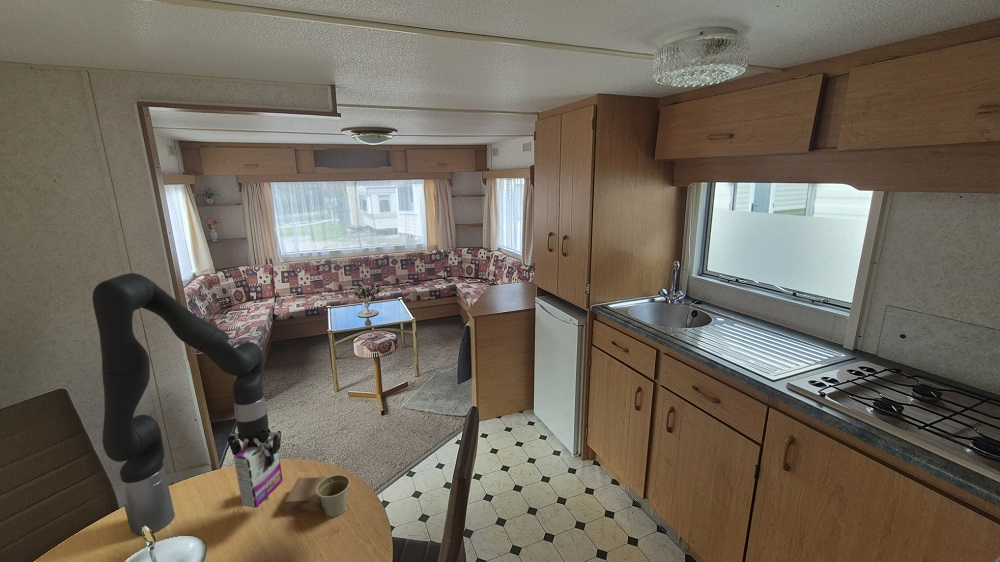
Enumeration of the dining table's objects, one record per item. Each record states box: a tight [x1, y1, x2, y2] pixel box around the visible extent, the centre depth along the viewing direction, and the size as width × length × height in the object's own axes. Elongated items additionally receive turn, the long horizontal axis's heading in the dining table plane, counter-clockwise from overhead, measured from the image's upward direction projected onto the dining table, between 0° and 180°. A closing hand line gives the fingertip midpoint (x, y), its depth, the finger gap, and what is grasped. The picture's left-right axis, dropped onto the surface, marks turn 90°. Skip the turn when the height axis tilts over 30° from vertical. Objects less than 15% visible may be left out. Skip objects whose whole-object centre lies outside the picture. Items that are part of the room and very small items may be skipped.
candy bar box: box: [233, 437, 283, 509], centre depth 120 cm, size 11×5×16 cm, turn 169°
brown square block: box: [284, 476, 328, 514], centre depth 130 cm, size 10×10×4 cm
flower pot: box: [316, 474, 351, 518], centre depth 125 cm, size 9×9×9 cm
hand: (258, 465), depth 120 cm, fingers closed on candy bar box, 5 cm apart
